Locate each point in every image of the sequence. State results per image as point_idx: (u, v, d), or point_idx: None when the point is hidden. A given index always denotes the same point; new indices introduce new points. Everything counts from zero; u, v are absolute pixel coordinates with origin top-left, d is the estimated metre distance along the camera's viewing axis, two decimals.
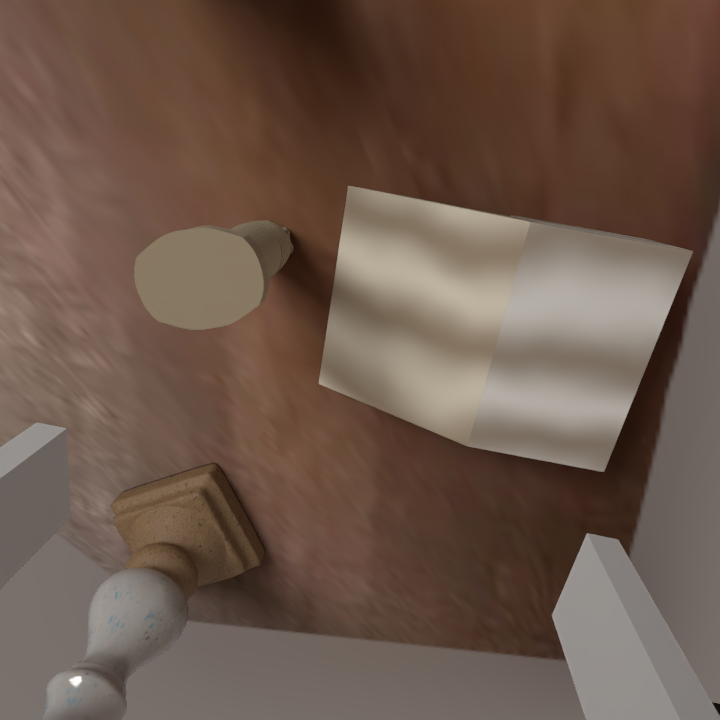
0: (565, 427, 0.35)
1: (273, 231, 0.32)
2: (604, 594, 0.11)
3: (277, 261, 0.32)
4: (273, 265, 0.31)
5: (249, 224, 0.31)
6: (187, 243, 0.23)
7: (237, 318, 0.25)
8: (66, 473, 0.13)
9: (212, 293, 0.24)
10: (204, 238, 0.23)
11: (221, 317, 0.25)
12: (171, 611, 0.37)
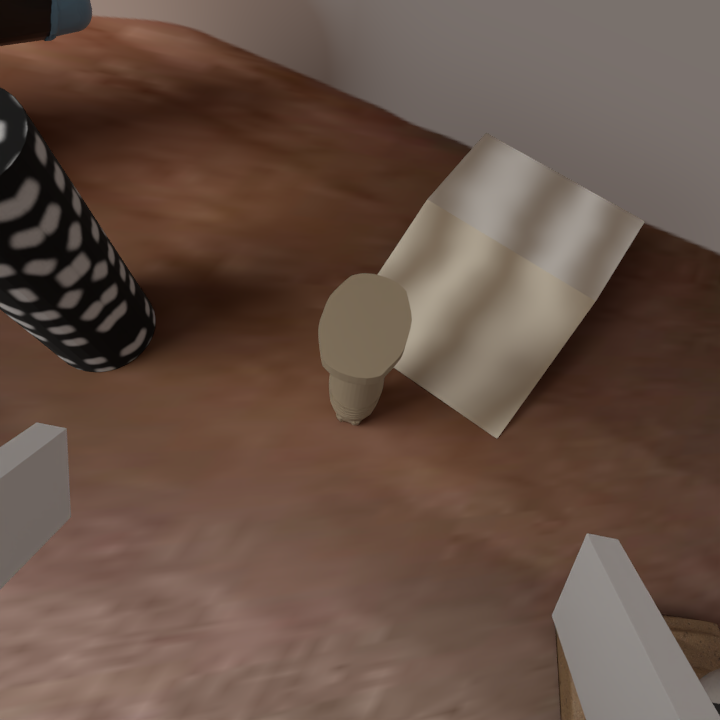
0: (596, 231, 0.42)
1: None
2: (604, 594, 0.11)
3: None
4: None
5: None
6: (334, 314, 0.27)
7: (409, 312, 0.27)
8: (66, 473, 0.13)
9: (380, 319, 0.27)
10: (337, 300, 0.27)
11: (403, 323, 0.27)
12: None
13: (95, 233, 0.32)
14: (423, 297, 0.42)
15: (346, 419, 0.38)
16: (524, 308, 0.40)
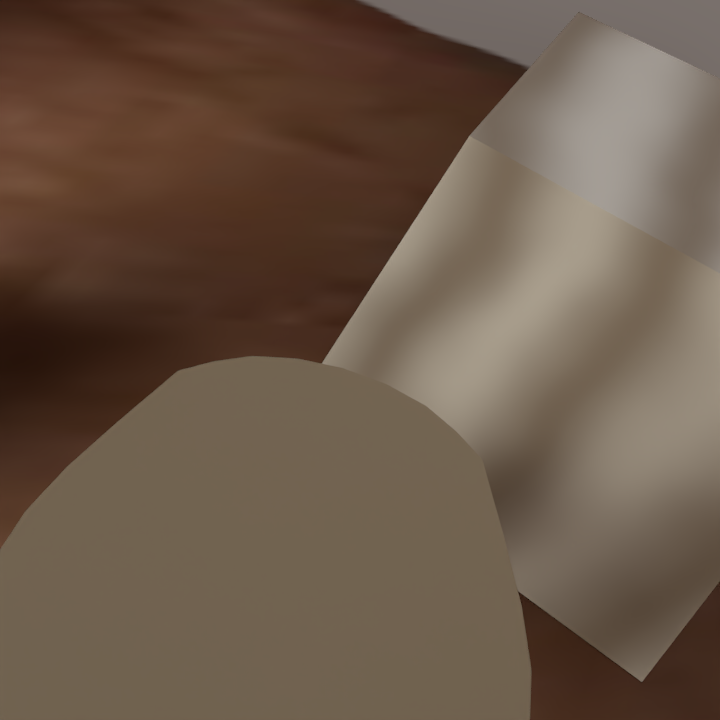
0: None
1: None
2: None
3: None
4: None
5: None
6: (22, 652, 0.04)
7: (512, 610, 0.04)
8: None
9: (332, 674, 0.04)
10: (68, 540, 0.04)
11: (478, 705, 0.04)
12: None
13: None
14: (463, 351, 0.19)
15: None
16: (702, 379, 0.17)
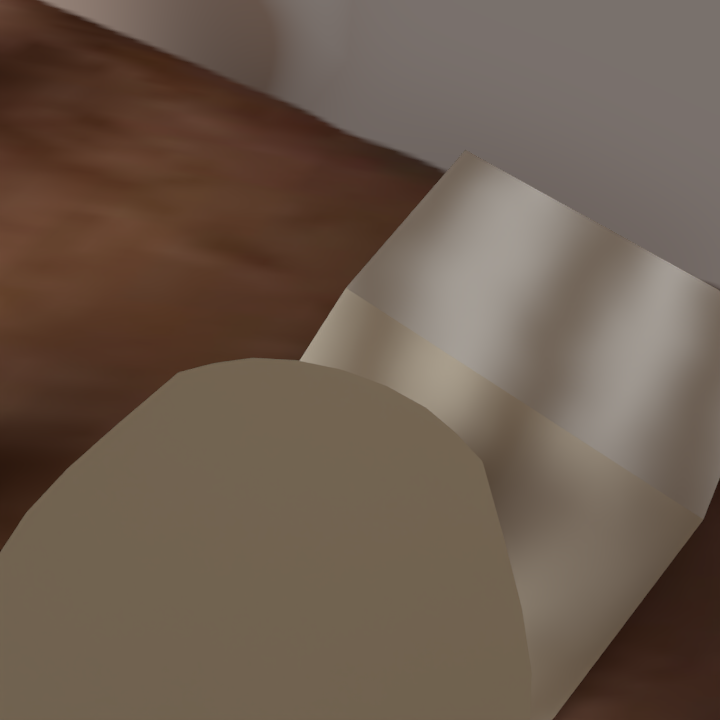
0: (688, 349, 0.21)
1: None
2: None
3: None
4: None
5: None
6: (23, 655, 0.04)
7: (513, 612, 0.04)
8: None
9: (332, 676, 0.04)
10: (68, 542, 0.04)
11: (478, 707, 0.04)
12: None
13: None
14: None
15: None
16: (546, 524, 0.19)
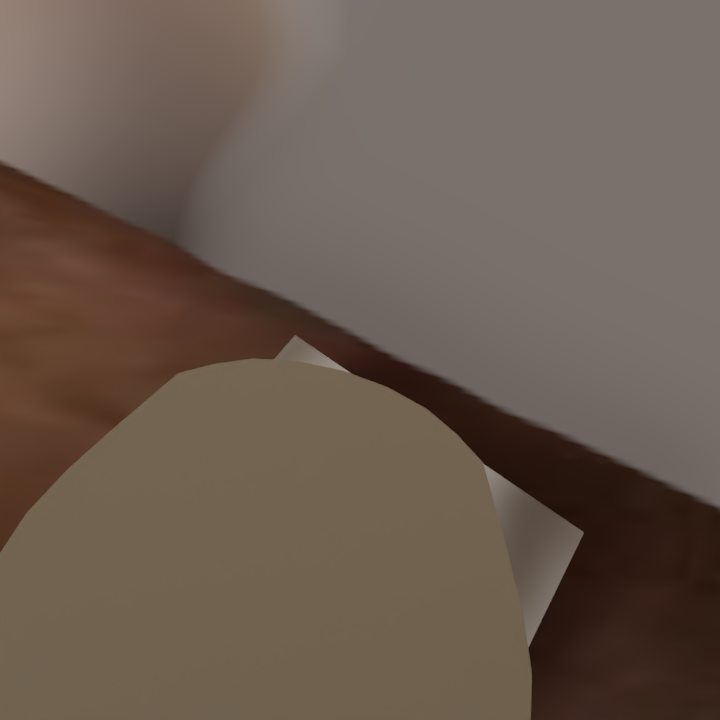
0: None
1: None
2: None
3: None
4: None
5: None
6: (23, 655, 0.04)
7: (513, 614, 0.04)
8: None
9: (333, 676, 0.04)
10: (68, 543, 0.04)
11: (479, 709, 0.04)
12: None
13: None
14: None
15: None
16: None
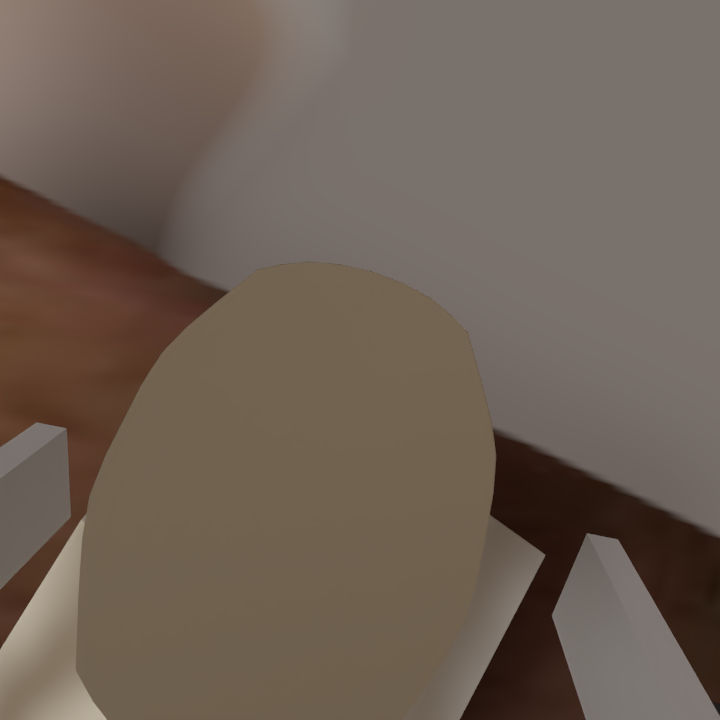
0: None
1: None
2: (605, 594, 0.11)
3: None
4: None
5: None
6: (168, 434, 0.06)
7: (485, 422, 0.07)
8: (66, 473, 0.13)
9: (368, 453, 0.06)
10: (191, 371, 0.07)
11: (461, 474, 0.06)
12: None
13: None
14: None
15: None
16: None
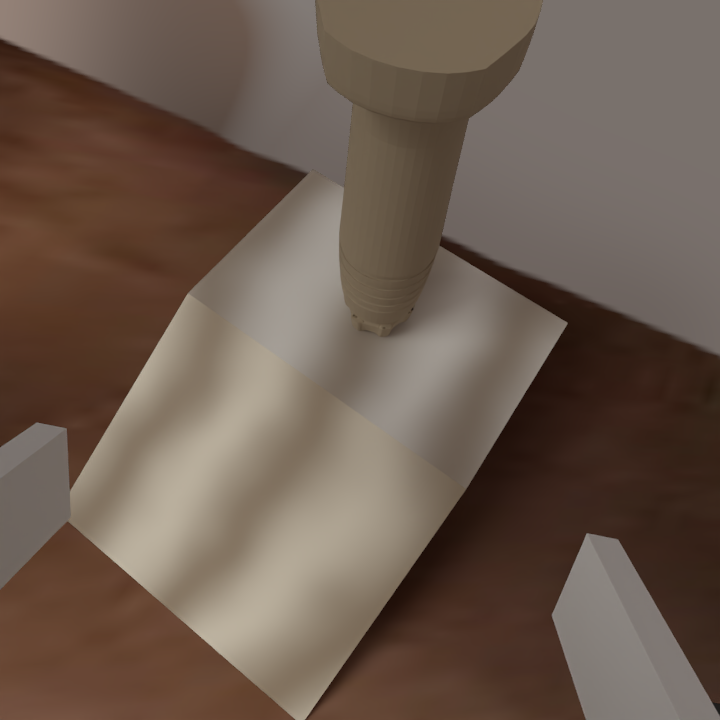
0: (481, 345, 0.24)
1: None
2: (605, 594, 0.11)
3: None
4: None
5: None
6: None
7: None
8: (66, 473, 0.13)
9: None
10: None
11: None
12: None
13: None
14: (182, 463, 0.24)
15: (369, 319, 0.22)
16: (345, 494, 0.23)
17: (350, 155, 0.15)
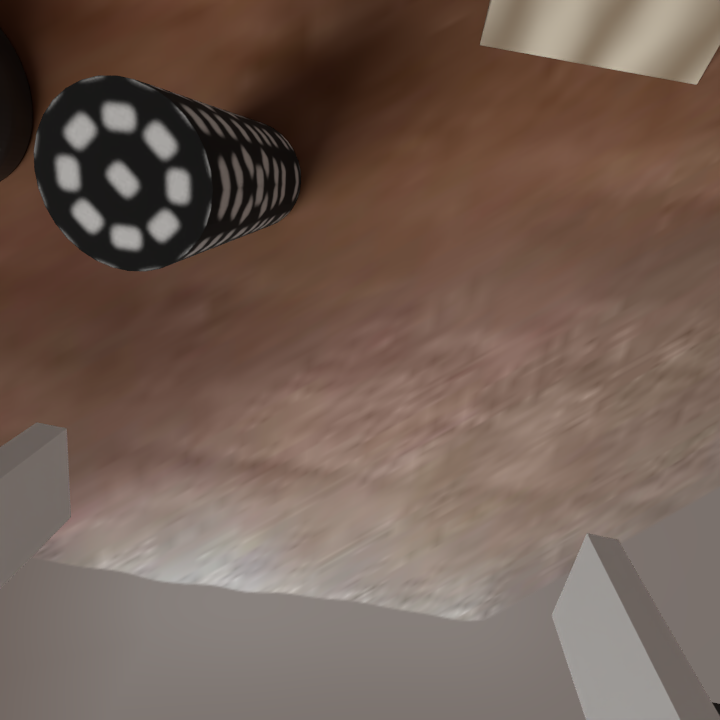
0: None
1: None
2: (604, 594, 0.11)
3: None
4: None
5: None
6: None
7: None
8: (66, 473, 0.13)
9: None
10: None
11: None
12: None
13: (245, 134, 0.29)
14: None
15: None
16: None
17: None
